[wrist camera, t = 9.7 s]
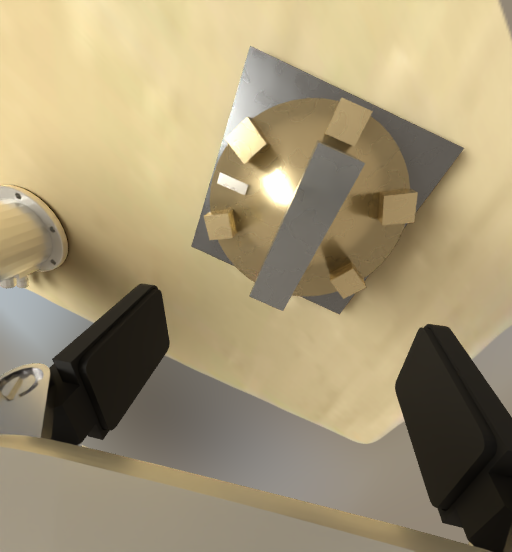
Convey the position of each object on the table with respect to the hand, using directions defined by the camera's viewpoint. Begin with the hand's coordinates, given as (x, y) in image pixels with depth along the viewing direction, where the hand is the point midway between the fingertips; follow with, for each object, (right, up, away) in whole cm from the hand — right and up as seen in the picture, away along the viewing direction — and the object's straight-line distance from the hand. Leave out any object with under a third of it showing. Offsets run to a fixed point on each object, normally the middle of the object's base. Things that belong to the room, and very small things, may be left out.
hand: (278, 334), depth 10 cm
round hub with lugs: (+4, +9, +17) cm, 20 cm away
